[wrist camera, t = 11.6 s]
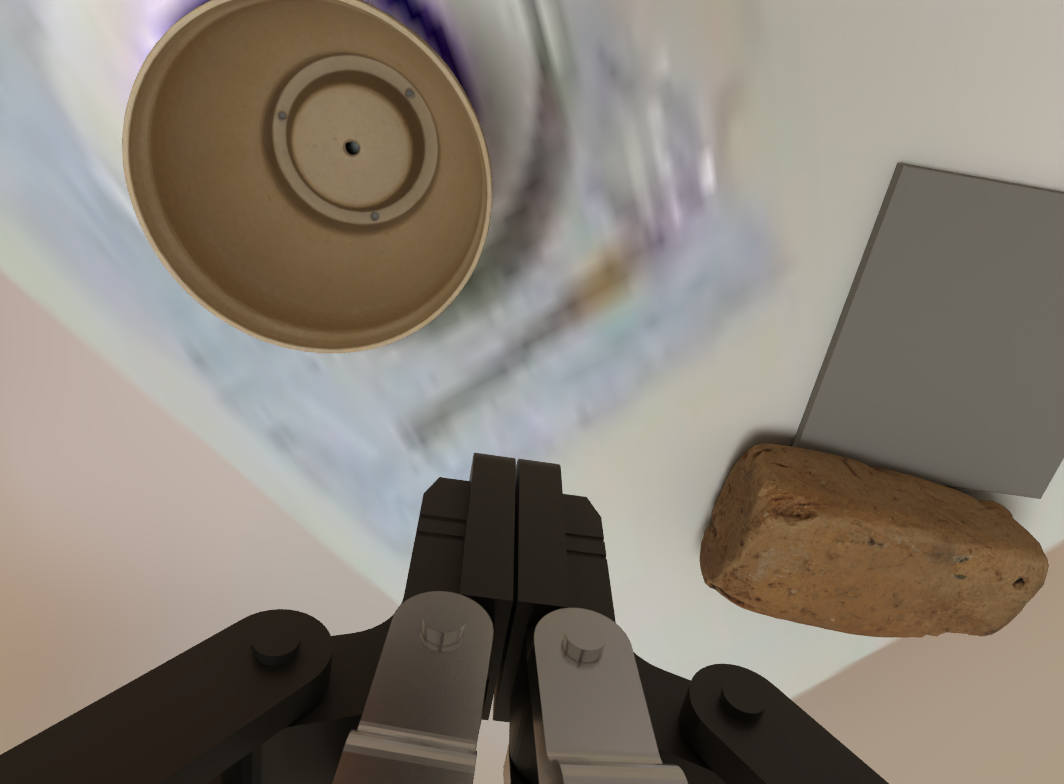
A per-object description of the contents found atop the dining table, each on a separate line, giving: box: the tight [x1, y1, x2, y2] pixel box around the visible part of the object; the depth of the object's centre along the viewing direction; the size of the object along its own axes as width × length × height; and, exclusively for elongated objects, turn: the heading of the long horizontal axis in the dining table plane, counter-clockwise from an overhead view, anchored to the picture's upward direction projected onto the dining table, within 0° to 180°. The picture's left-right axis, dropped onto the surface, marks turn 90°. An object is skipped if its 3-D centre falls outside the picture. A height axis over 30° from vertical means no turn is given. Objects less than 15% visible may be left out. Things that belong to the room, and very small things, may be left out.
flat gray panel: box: [792, 163, 1064, 499], centre depth 51 cm, size 20×18×1 cm
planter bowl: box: [122, 0, 492, 353], centre depth 40 cm, size 16×16×11 cm
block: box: [700, 443, 1049, 637], centre depth 54 cm, size 11×8×20 cm
